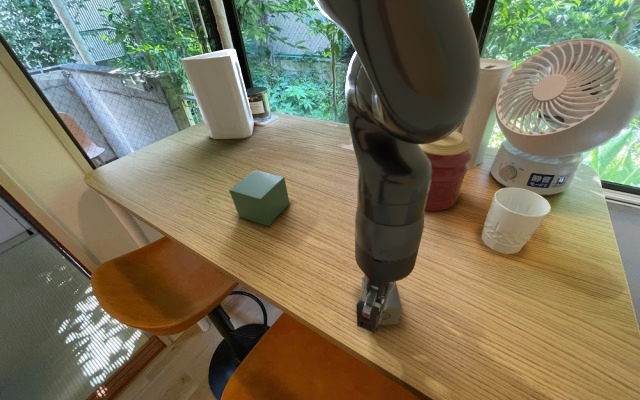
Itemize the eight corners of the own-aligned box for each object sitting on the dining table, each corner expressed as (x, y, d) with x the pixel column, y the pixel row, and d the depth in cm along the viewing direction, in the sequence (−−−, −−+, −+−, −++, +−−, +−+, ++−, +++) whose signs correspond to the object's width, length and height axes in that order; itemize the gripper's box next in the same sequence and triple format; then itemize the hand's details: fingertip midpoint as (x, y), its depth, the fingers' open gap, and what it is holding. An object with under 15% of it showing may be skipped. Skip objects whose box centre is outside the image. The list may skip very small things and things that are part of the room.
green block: (268, 226, 58) (260, 199, 53) (239, 216, 62) (228, 190, 57) (289, 203, 64) (284, 176, 59) (261, 195, 68) (254, 169, 63)
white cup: (517, 229, 51) (539, 189, 45) (532, 260, 45) (560, 218, 39) (473, 224, 53) (489, 185, 47) (482, 253, 47) (501, 213, 41)
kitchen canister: (433, 175, 68) (448, 109, 57) (470, 203, 58) (496, 130, 47) (390, 187, 66) (397, 120, 55) (420, 218, 56) (437, 145, 45)
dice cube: (364, 324, 39) (365, 307, 36) (361, 294, 43) (362, 277, 40) (398, 324, 38) (401, 307, 35) (391, 294, 42) (394, 276, 39)
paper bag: (227, 145, 95) (198, 61, 77) (209, 136, 103) (179, 59, 86) (268, 128, 104) (250, 50, 87) (248, 120, 113) (229, 48, 96)
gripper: (374, 192, 36) (370, 264, 47) (332, 269, 27) (338, 339, 37) (430, 204, 33) (412, 279, 43) (405, 296, 24) (390, 364, 34)
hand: (378, 306), depth 40 cm, fingers closed on dice cube, 6 cm apart
